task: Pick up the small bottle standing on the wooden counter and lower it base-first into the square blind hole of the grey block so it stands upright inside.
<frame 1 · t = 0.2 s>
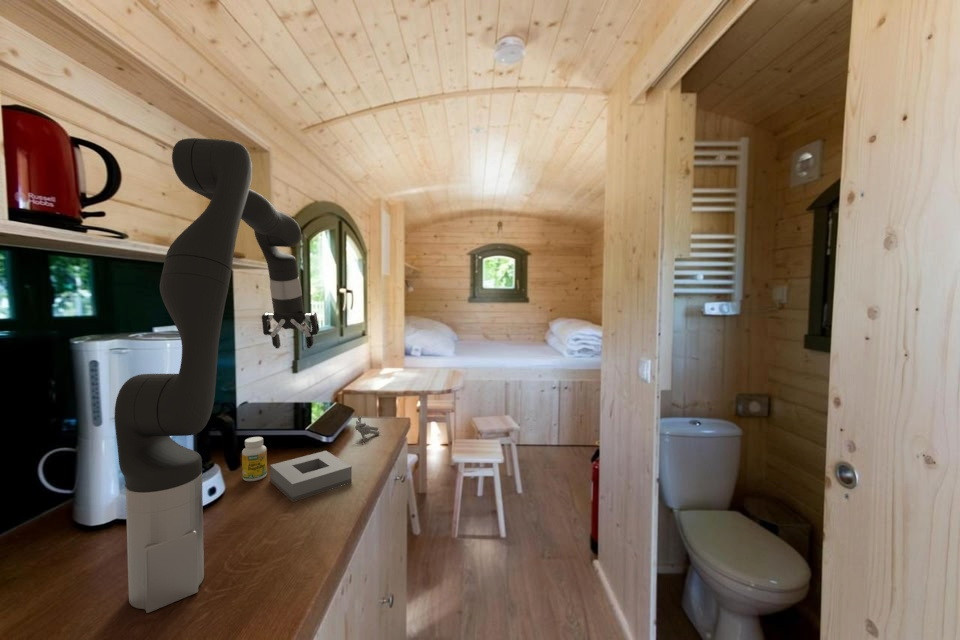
hand: (294, 347, 117), 31 cm above the kitchen counter, tool tilted 20°, fingers open, 8 cm apart
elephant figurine: (365, 437, 133), on the kitchen counter
socket block: (310, 481, 100), on the kitchen counter
supplement bottle: (254, 477, 102), on the kitchen counter
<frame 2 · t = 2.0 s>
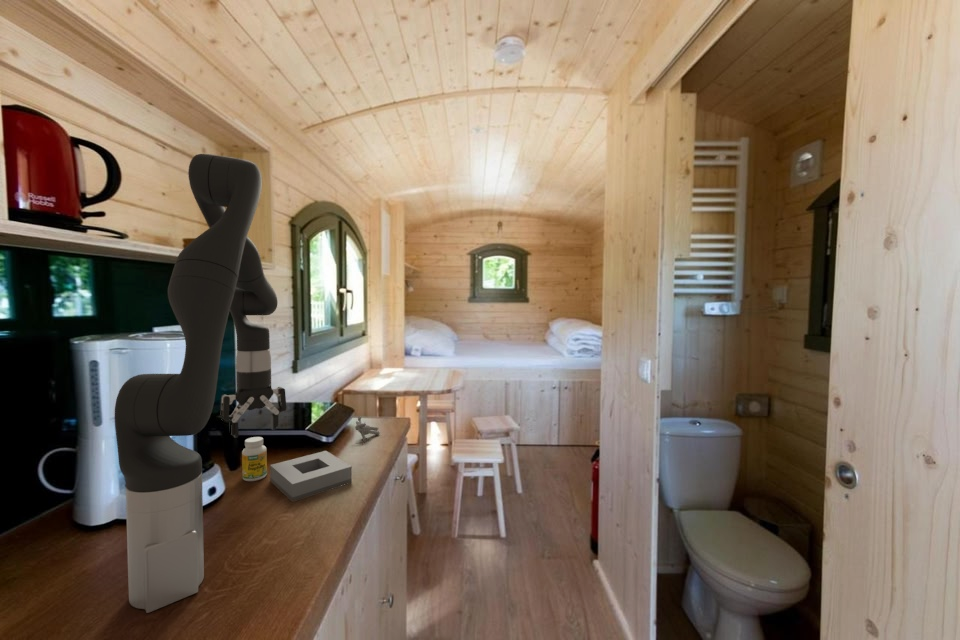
hand: (255, 432, 102), 11 cm above the kitchen counter, tool pointing down, fingers open, 8 cm apart
nothing on the kitchen counter moved.
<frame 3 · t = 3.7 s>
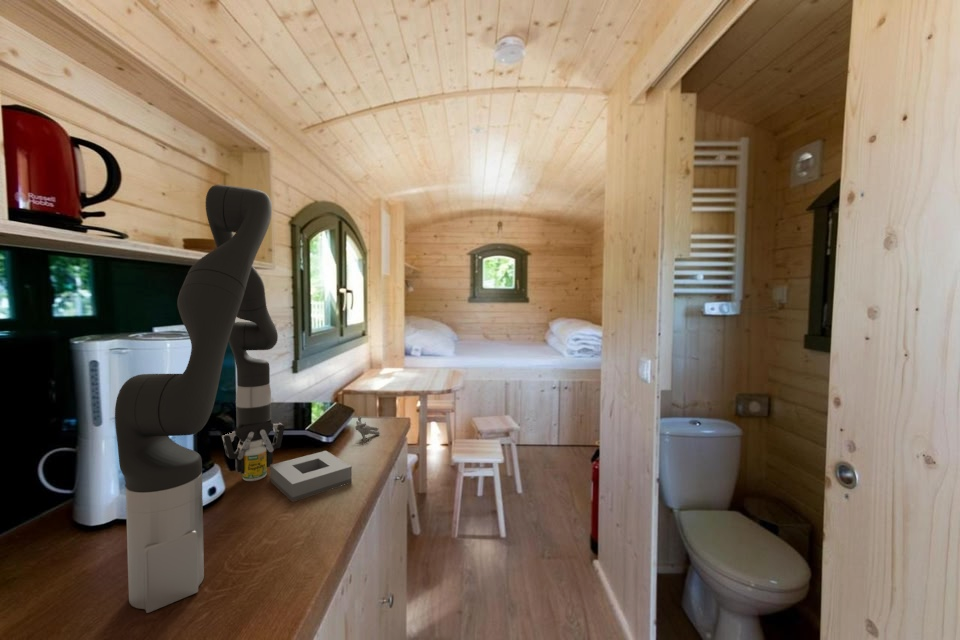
hand: (254, 469, 102), 2 cm above the kitchen counter, tool pointing down, fingers closed on supplement bottle, 5 cm apart
supplement bottle: (254, 477, 102), on the kitchen counter, touching gripper
everything else where it was.
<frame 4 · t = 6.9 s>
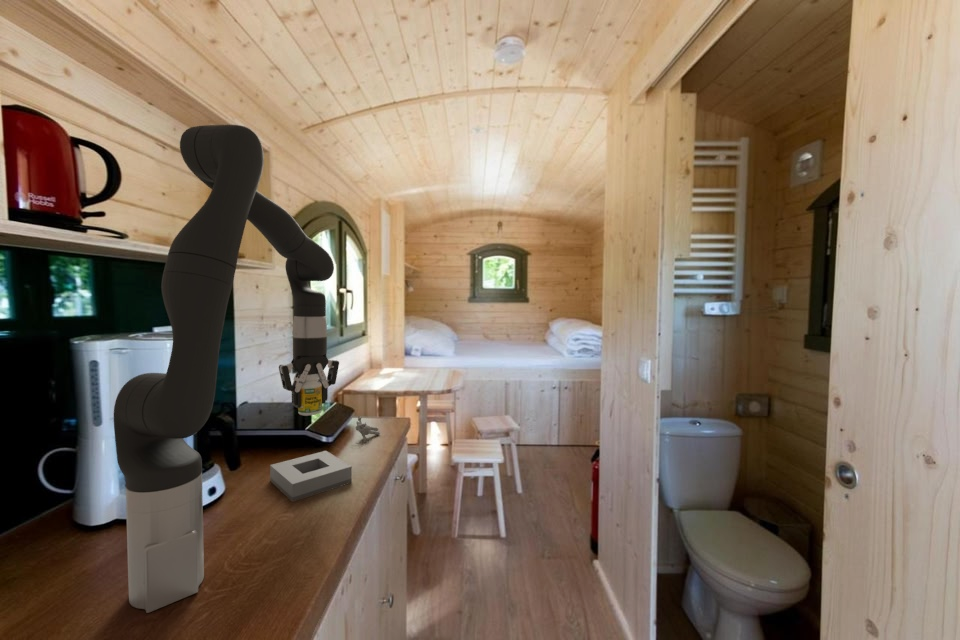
hand: (310, 404, 99), 19 cm above the kitchen counter, tool pointing down, fingers closed on supplement bottle, 5 cm apart
supplement bottle: (310, 413, 99), point 17 cm above the kitchen counter, touching gripper
everything else where it was.
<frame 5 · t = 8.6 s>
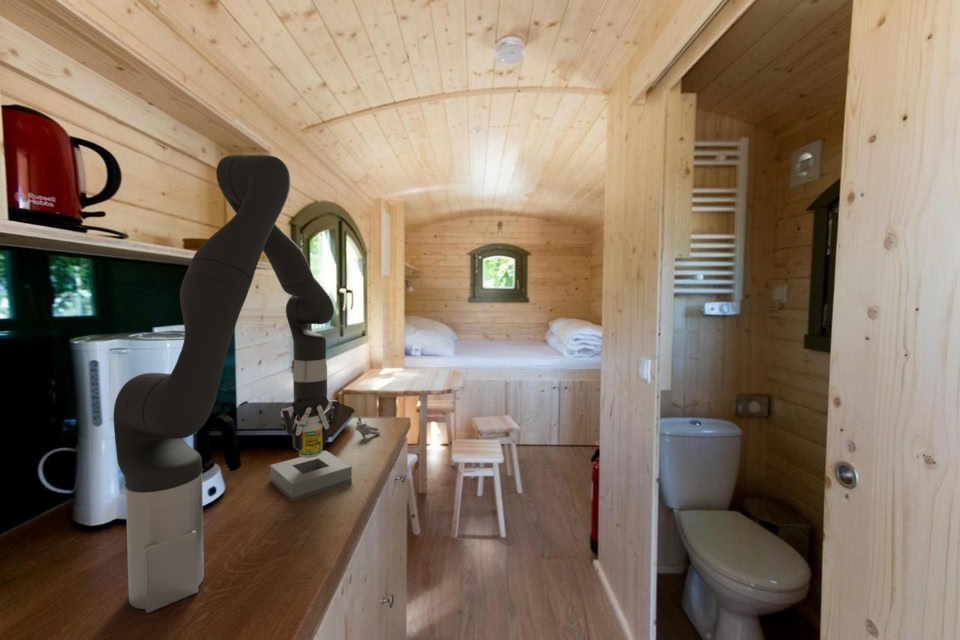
hand: (310, 446, 100), 9 cm above the kitchen counter, tool pointing down, fingers closed on supplement bottle, 5 cm apart
supplement bottle: (310, 454, 100), point 7 cm above the kitchen counter, touching gripper
everything else where it was.
when the fingers open (7 cm above the kitchen counter, at t = 10.0 s): supplement bottle drops 4 cm, resting on socket block.
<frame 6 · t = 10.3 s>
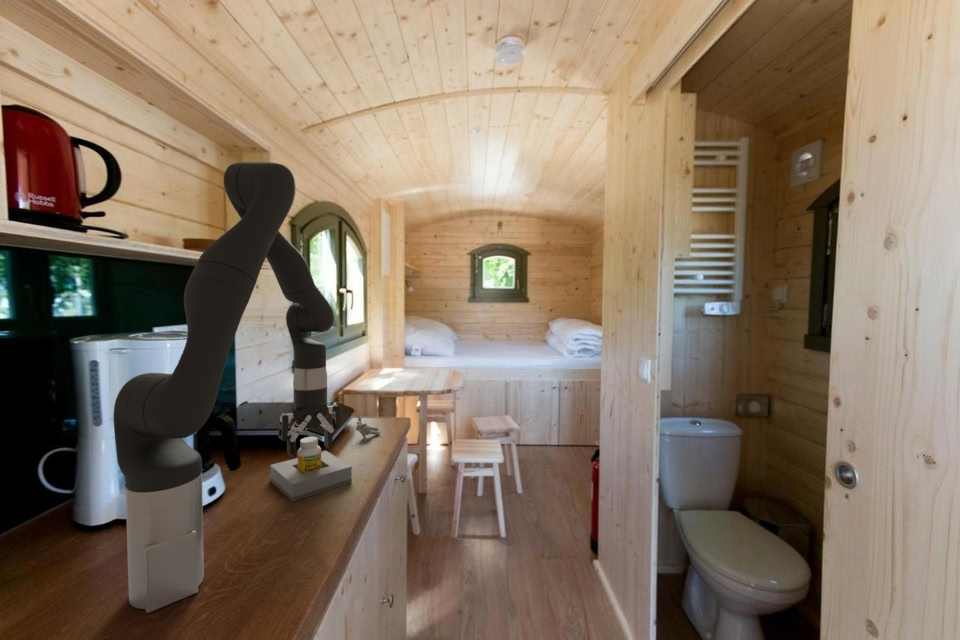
hand: (310, 451, 100), 8 cm above the kitchen counter, tool pointing down, fingers open, 8 cm apart
supplement bottle: (309, 478, 100), point 1 cm above the kitchen counter, touching socket block
everything else where it was.
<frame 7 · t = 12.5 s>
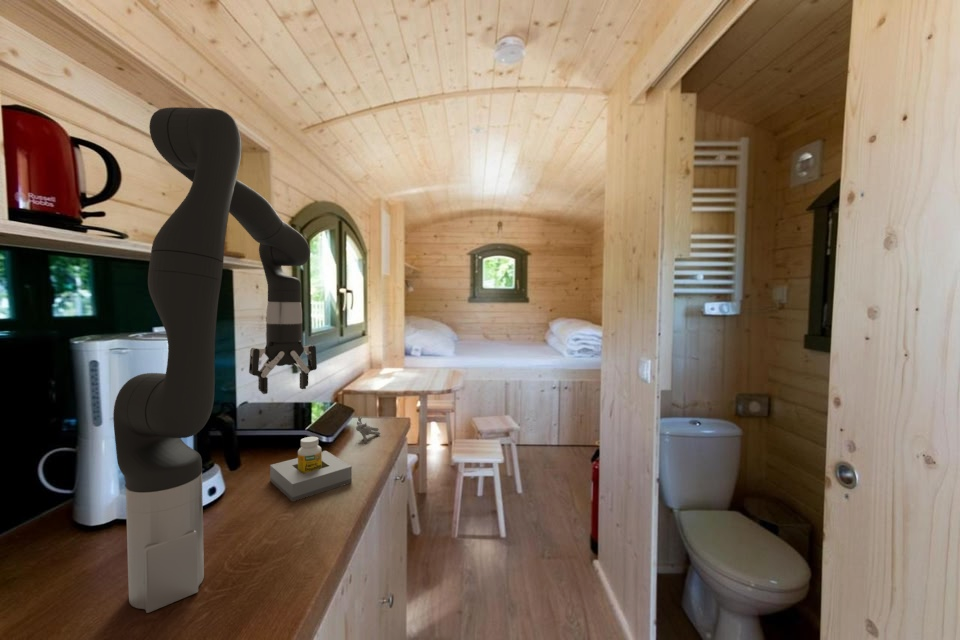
hand: (284, 390, 96), 23 cm above the kitchen counter, tool pointing down, fingers open, 8 cm apart
nothing on the kitchen counter moved.
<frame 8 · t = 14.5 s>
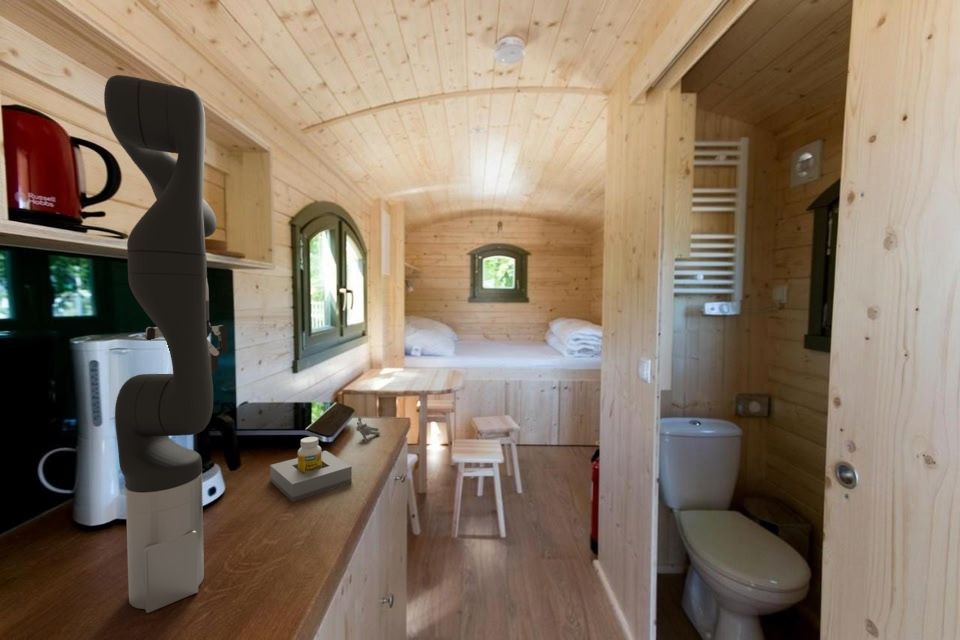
hand: (188, 374, 87), 28 cm above the kitchen counter, tool pointing down, fingers open, 8 cm apart
nothing on the kitchen counter moved.
at the end: supplement bottle 0.3 cm off-centre on the socket block, point 0.8 cm above the socket block's base; supplement bottle tilted 0°; the gripper is holding nothing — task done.
